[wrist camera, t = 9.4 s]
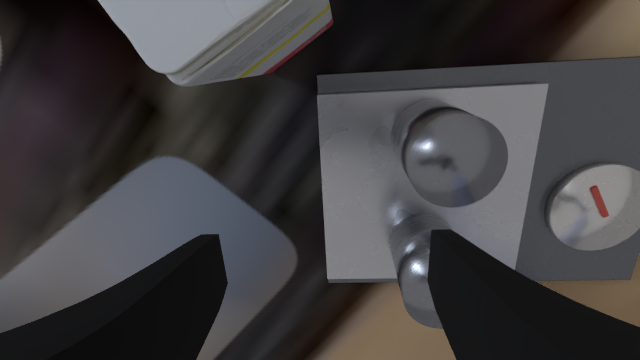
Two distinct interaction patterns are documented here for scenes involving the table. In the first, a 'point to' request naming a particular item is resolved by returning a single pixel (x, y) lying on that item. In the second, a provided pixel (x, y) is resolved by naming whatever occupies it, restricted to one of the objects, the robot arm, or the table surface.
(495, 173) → the cylinder
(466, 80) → the scale base
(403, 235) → the cylinder
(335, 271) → the pan
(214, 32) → the ink box
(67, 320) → the robot arm
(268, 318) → the table surface
